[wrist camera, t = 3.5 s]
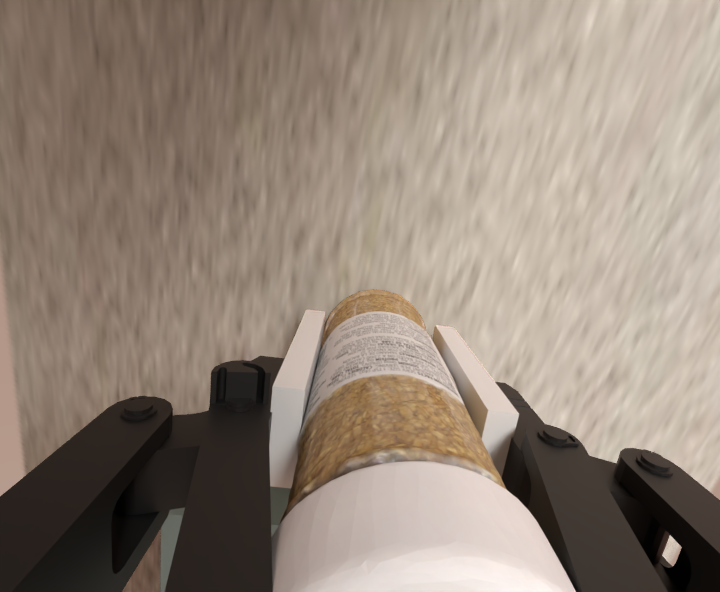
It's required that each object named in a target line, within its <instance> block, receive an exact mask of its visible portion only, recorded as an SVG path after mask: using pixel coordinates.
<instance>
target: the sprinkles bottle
mask: <svg viewBox="0 0 720 592" xmlns="http://www.w3.org/2000/svg"><path fill="white" fill-rule="evenodd" d="M297 457H298V459H297V464H296V468H295V472H294V477H293V483H292V487H291V490H290V494H289V498H288V505H287V508H286V510H285V512H284V514H283V516H282V518H281V521H280V525H279V526H278V528H277V529H276V531H275V532H274V534H273V536H272V537H271V541H272V584H273V592H576V591H575V589H574V587H573V585H572V583H571V581H570V580H569V578H568V576H567V574H566V572H565V570H564V568H563V566H562V565H561V563H560V561H559V559H558V558H557V556H556V554H555V552H554V550H553V549H552V547H551V545H550V543H549V542H548V540H547V538H546V536H545V534H544V533H543V531H542V529H541V528H540V526H539V524H538V523H537V521H536V519H535V518H534V517H533V515H532V514H531V513H530V511H529V510H528V509H527V508H526V507H525V506H524V505H523V504H522V503H521V502H520V501H519V500H518V499H517V498H516V497H515V496H514V495H512V494H511V493H510V492H509V491H508V490H507V489H506V487H505V485H504V483H503V481H502V478H501V476H500V475H499V473H498V471H497V470H496V468H495V466H494V464H493V461H492V459H491V457H490V455H489V453H488V451H487V449H486V448H485V445H484V443H483V441H482V439H481V437H480V434H479V432H478V431H477V429H476V428H475V425H474V423H473V422H472V419H471V418H470V415H469V413H468V411H467V409H466V407H465V405H464V402H463V400H462V398H461V396H460V394H459V392H458V390H457V387H456V384H455V382H454V379H453V377H452V376H451V374H450V372H449V370H448V368H447V366H446V364H445V362H444V361H443V359H442V357H441V355H440V353H439V351H438V350H437V348H436V346H435V344H434V342H433V340H432V339H431V338H430V336H429V335H428V334H427V332H426V328H425V325H424V323H423V320H422V318H421V316H420V314H419V313H418V312H417V310H416V309H415V308H414V307H413V306H412V305H411V304H410V303H409V302H408V301H406V300H405V299H404V298H403V297H401V296H400V295H398V294H394V293H390V292H388V291H382V290H367V291H361V292H358V293H356V294H354V295H351V296H349V297H347V298H346V299H344V300H343V301H342V302H341V303H339V304H338V305H337V307H336V308H335V309H334V310H333V311H332V313H331V314H330V316H329V317H328V320H327V323H326V325H325V328H324V334H323V347H322V349H321V351H320V354H319V358H318V362H317V366H316V370H315V374H314V379H313V383H312V387H311V391H310V396H309V400H308V404H307V408H306V412H305V416H304V421H303V425H302V429H301V433H300V437H299V442H298V452H297Z"/></svg>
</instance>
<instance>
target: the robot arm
mask: <svg viewBox="0 0 720 592" xmlns="http://www.w3.org/2000/svg"><path fill="white" fill-rule="evenodd" d="M325 313H326V312H325V311H317V310H308V309H306V311H305V314H304V316H303V318H302V321H301V323H300V325H299V327H298V330H297V332H296V334H295V336H294V339H293V341H292V343H291V345H290V348H289V350H288V352H287V355H286V357H285V359H283V358H274V357H265V356H259V357H258V358H256V359H254V360H252V361H244V360H241V361H230V362H225V363H222V364H220V365H218V366H216V367H215V368H214V369H213V370H212V372H211V393H210V406H209V411H206V412H202V413H196V414H187V415H173V409H172V406H171V403H169V402H168V401H166V400H165V399H162V398H158V397H147V396H138V397H132V398H129V399H126V400H123V401H120V402H117V403H116V404H114V405H112V406H111V407H109V408H108V409H106V410H105V411H104V412H103V413H101V414H100V415H99V416H98V417H97V418H95V419H94V420H93V421H92V422H90V423H89V424H88V425H87V426H86V427H84V428H83V429H82V430H81V431H80V432H78V433H77V434H76V435H75V436H73V437H72V438H71V439H70V440H69V441H67V442H66V443H65V444H64V445H62V446H61V447H60V448H59V449H58V450H56V451H55V452H54V453H53V454H52V455H50V456H49V457H48V458H47V459H45V460H44V461H43V462H42V463H41V464H39V465H38V466H37V467H36V468H35V469H33V470H32V471H31V472H30V473H28V474H27V475H26V476H25V477H24V478H22V479H21V480H20V481H19V482H18V483H16V484H15V485H14V486H13V487H11V488H10V489H9V490H8V491H7V492H5V493H4V494H3V495H2V496H0V592H122V590H123V588H124V587H125V585H126V584H127V582H128V580H129V579H130V577H131V575H132V574H133V572H134V571H135V569H136V567H137V566H138V564H139V562H140V561H141V559H142V558H143V556H144V554H145V553H146V551H147V549H148V548H149V546H150V545H151V543H152V541H153V540H154V538H155V536H156V535H157V533H158V532H159V530H160V528H161V527H162V525H163V523H164V522H165V520H166V519H167V517H168V514H169V512H170V510H172V509H178V508H185V510H184V514H183V518H182V522H181V526H180V530H179V534H178V538H177V543H176V547H175V551H174V555H173V559H172V563H171V567H170V571H169V576H168V580H167V584H166V588H165V592H273V584H272V541H271V498H270V486H272V487H281V488H291V487H292V483H293V477H294V472H295V468H296V464H297V459H298V457H297V452H298V442H299V437H300V433H301V429H302V425H303V421H304V416H305V412H306V408H307V404H308V400H309V396H310V391H311V387H312V383H313V379H314V374H315V370H316V366H317V362H318V358H319V354H320V351H321V348H322V339H323V331H324V322H325ZM433 342H434V344H435V346H436V348H437V350H438V351H439V353H440V355H441V357H442V359H443V361H444V362H445V364H446V366H447V368H448V370H449V372H450V374H451V376H452V377H453V379H454V382H455V384H456V387H457V390H458V392H459V394H460V396H461V398H462V400H463V402H464V405H465V407H466V409H467V411H468V413H469V415H470V418H471V419H472V422H473V423H474V425H475V428H476V429H477V431H478V432H479V434H480V437H481V439H482V441H483V443H484V445H485V448H486V449H487V451H488V453H489V455H490V457H491V459H492V461H493V464H494V466H495V468H496V470H497V471H498V473H499V475H500V476H501V478H502V481H503V483H504V485H505V487H506V489H507V490H508V491H509V492H510V493H511V494H512V495H514V496H515V497H516V498H517V499H518V500H519V501H520V502H521V503H522V504H523V505H524V506H525V507H526V508H527V509H528V510H529V511H530V513H531V514H532V515H533V517H534V518H535V519H536V521H537V523H538V524H539V526H540V528H541V529H542V531H543V533H544V534H545V536H546V538H547V540H548V542H549V543H550V545H551V547H552V549H553V550H554V552H555V554H556V556H557V558H558V559H559V561H560V563H561V565H562V566H563V568H564V570H565V572H566V574H567V576H568V578H569V580H570V581H571V583H572V585H573V587H574V589H575V591H576V592H720V500H719V499H718V498H716V497H715V496H714V495H713V494H711V493H710V492H709V491H708V490H707V489H705V488H704V487H703V486H702V485H700V484H699V483H698V482H697V481H696V480H694V479H693V478H692V477H691V476H689V475H688V474H687V473H686V472H685V471H683V470H682V469H681V468H679V467H678V466H676V465H675V464H674V463H672V462H671V461H669V460H667V459H665V458H663V457H662V456H661V455H659V454H656V453H654V452H652V453H651V451H648V450H640V449H635V448H625V449H624V450H622V451H621V452H620V455H619V458H618V461H617V464H616V463H612V462H609V461H605V460H602V459H598V458H595V457H591V456H589V455H588V453H587V451H586V449H585V448H584V446H583V445H582V443H581V442H580V441H579V440H578V439H577V438H576V437H575V436H573V435H571V434H570V433H568V432H566V431H564V430H562V429H559V428H557V427H553V426H550V425H546V424H544V423H543V421H542V420H541V419H540V418H539V417H538V415H537V414H536V413H535V412H534V411H533V409H531V408H530V406H529V405H528V403H527V402H525V400H524V399H523V397H522V396H521V395H520V394H519V393H518V391H516V390H515V389H513V388H512V387H510V386H509V385H507V384H506V383H500V382H495V381H494V380H493V379H492V377H491V376H490V375H489V373H488V372H487V371H486V369H485V368H484V367H483V365H482V364H481V363H480V361H479V360H478V359H477V357H476V356H475V355H474V353H473V352H472V351H471V349H470V348H469V347H468V345H467V344H466V343H465V341H464V340H463V339H462V337H461V336H460V335H459V333H458V332H457V331H456V329H455V328H454V327H448V326H440V325H435V329H434V334H433ZM172 415H173V416H172ZM670 535H671V536H672V537H673V538H674V539H675V540H676V541H677V542H678V543H679V544H680V546H681V547H682V549H681V551H680V554H679V556H678V559H677V561H676V563H675V565H674V566H671V565H670V564H669V563H668V562H667V561H666V560H665V558H664V557H663V556H662V554H663V552H664V549H665V546H666V544H667V541H668V539H669V536H670Z"/></svg>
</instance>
